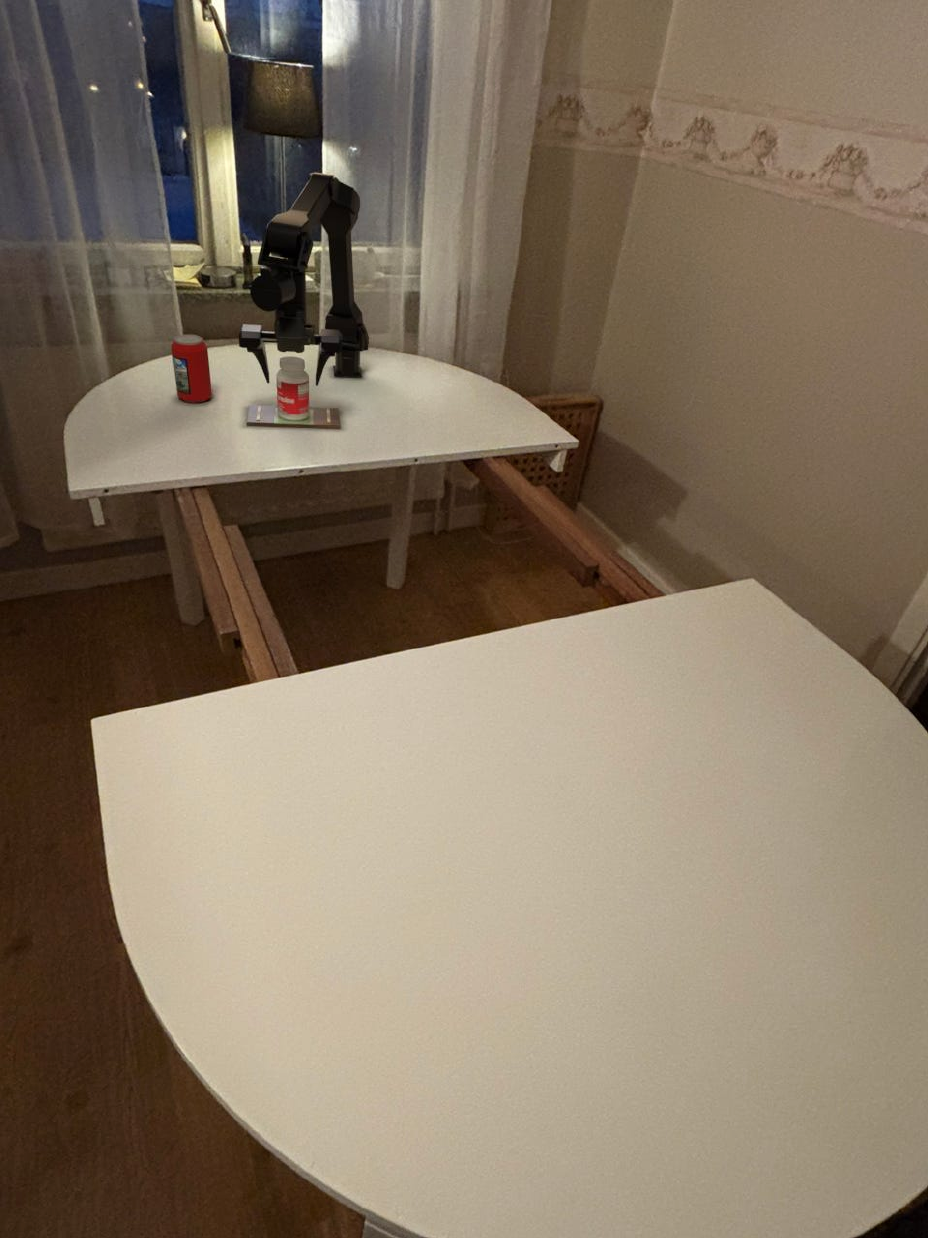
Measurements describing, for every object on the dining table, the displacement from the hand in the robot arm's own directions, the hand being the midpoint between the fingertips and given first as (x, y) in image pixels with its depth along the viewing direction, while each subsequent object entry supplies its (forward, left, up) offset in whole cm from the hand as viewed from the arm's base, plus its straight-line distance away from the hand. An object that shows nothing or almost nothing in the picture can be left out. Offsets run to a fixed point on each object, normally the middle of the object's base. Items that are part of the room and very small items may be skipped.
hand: (292, 383), depth 143 cm
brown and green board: (-1, 0, -8) cm, 8 cm away
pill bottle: (0, 0, -7) cm, 7 cm away
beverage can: (-10, -20, -8) cm, 24 cm away
